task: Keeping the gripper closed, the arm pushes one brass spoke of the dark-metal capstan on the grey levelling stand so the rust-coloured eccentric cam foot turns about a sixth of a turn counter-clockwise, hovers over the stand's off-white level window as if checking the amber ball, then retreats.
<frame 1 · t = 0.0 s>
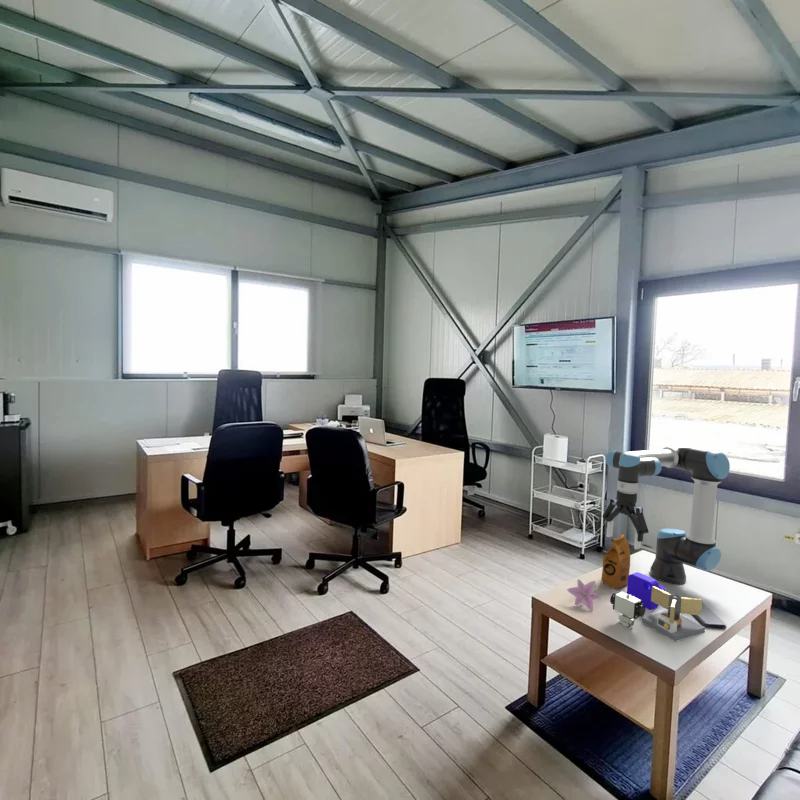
hand: (622, 542, 194), 28 cm above the table, fingers open, 13 cm apart
coffee package: (614, 583, 219), on the table
lily: (583, 605, 198), on the table
level stand: (672, 627, 183), on the table
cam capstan: (673, 622, 183), point 2 cm above the table, hinge at 0.0°
bracket: (650, 600, 205), on the table
pneumatic valve: (626, 624, 184), on the table
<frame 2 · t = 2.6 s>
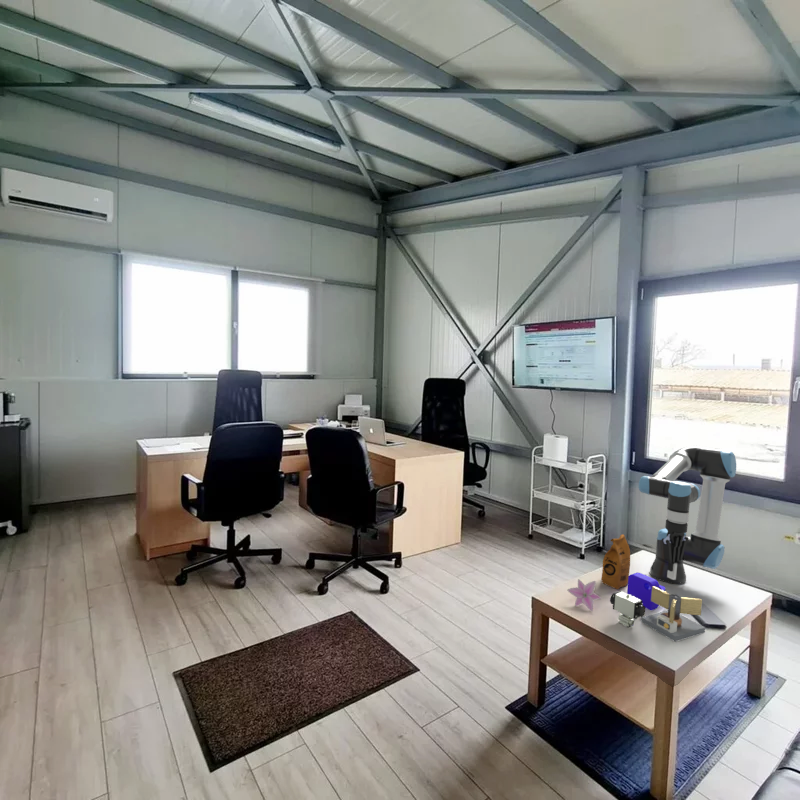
hand: (671, 578, 190), 16 cm above the table, fingers closed
nothing on the table moved.
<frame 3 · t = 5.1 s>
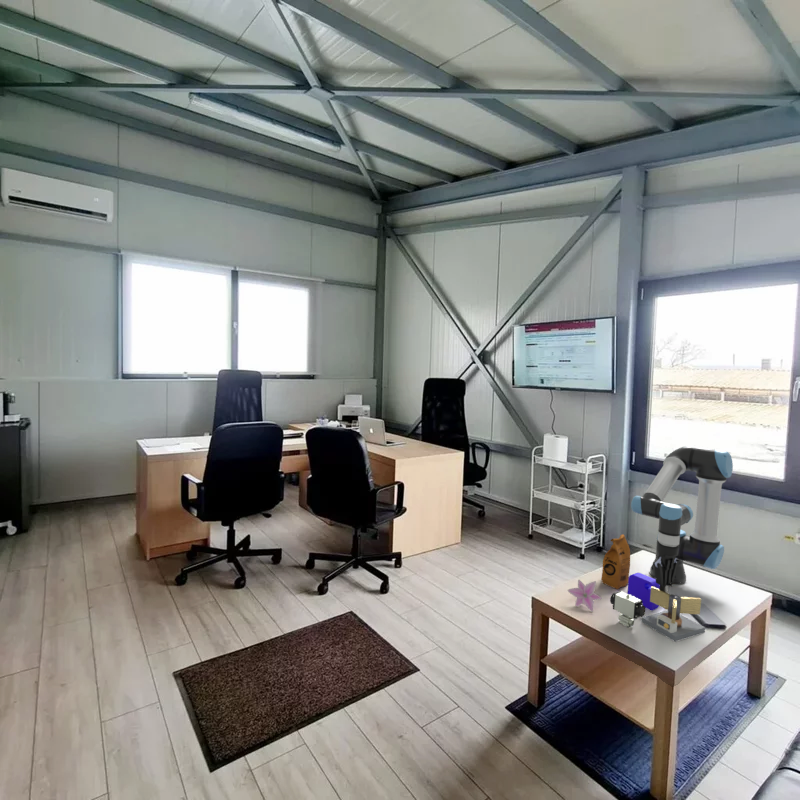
hand: (663, 600, 189), 7 cm above the table, fingers closed
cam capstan: (673, 622, 183), point 2 cm above the table, hinge at 4.1°, touching gripper
everything else where it was.
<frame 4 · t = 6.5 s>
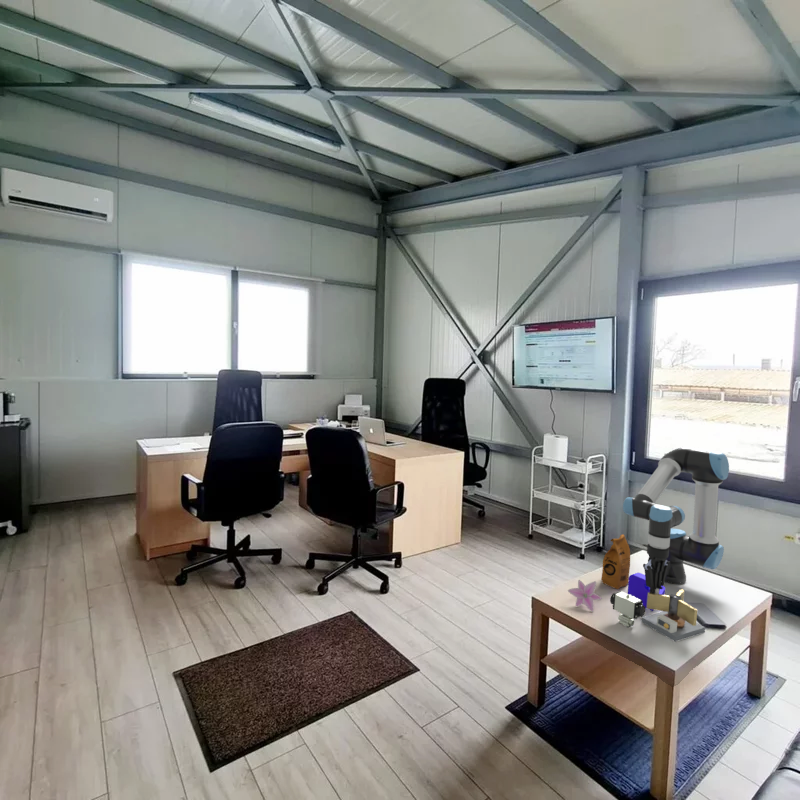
hand: (653, 603, 187), 7 cm above the table, fingers closed
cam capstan: (673, 622, 183), point 2 cm above the table, hinge at 49.4°, touching gripper
everything else where it was.
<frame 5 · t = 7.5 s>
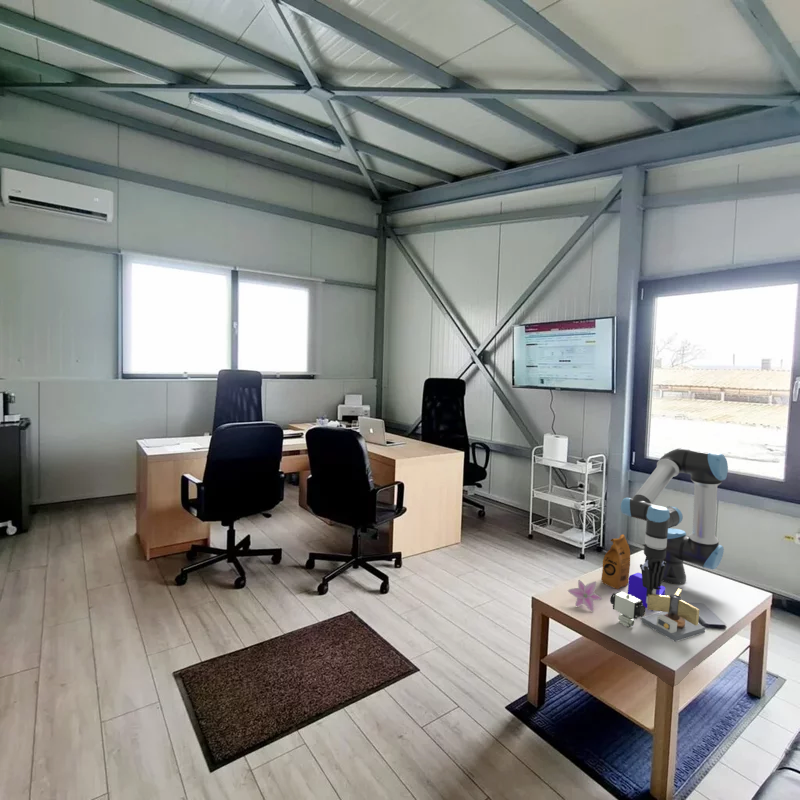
hand: (650, 604, 186), 7 cm above the table, fingers closed
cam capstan: (673, 622, 183), point 2 cm above the table, hinge at 55.6°, touching gripper
everything else where it was.
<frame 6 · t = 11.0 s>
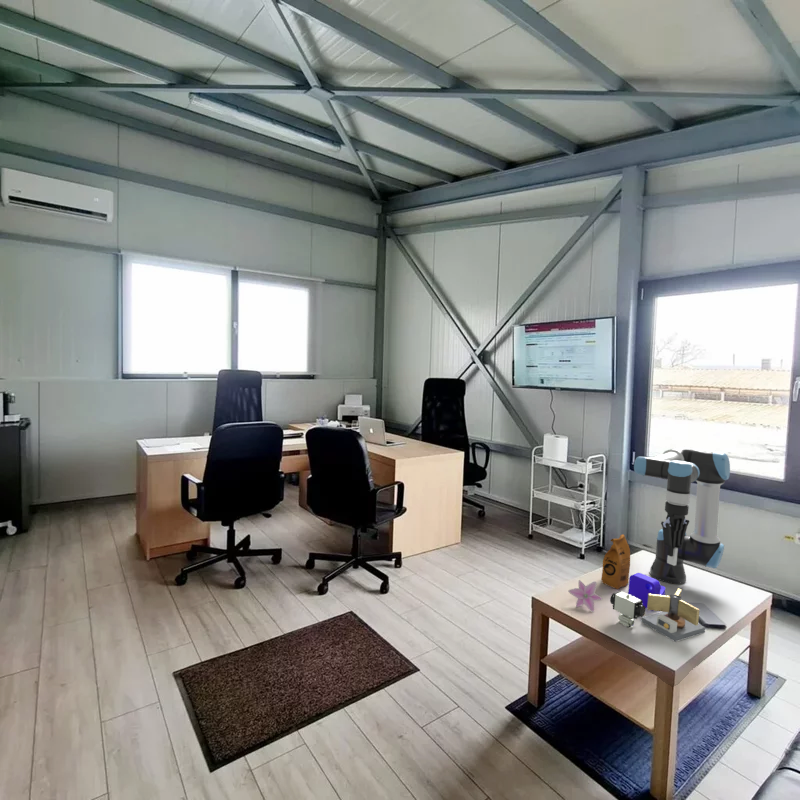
hand: (671, 563, 178), 26 cm above the table, fingers closed
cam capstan: (673, 622, 183), point 2 cm above the table, hinge at 55.8°
everything else where it was.
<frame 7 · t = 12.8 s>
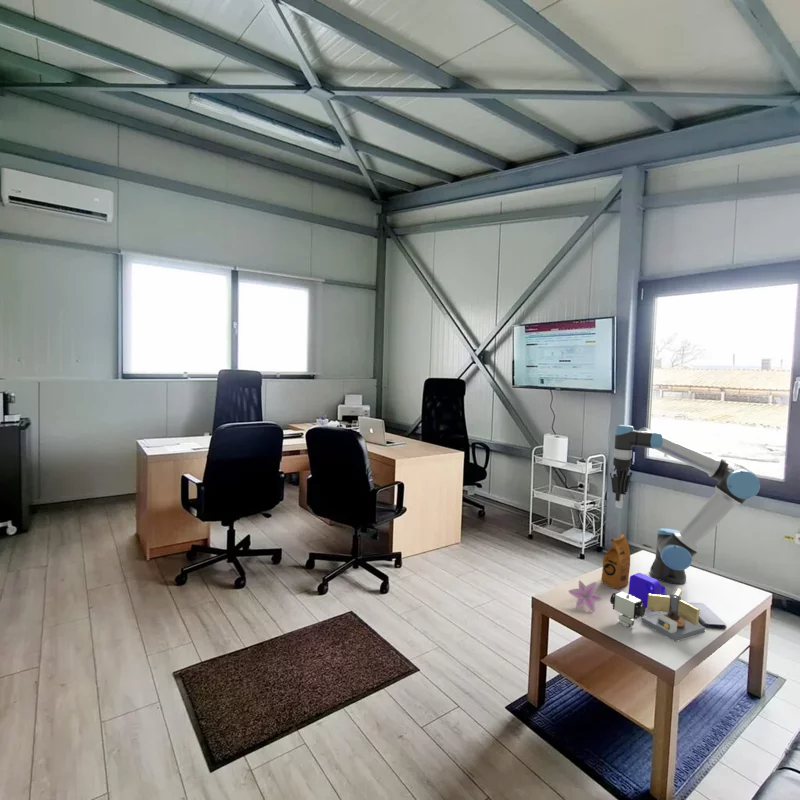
hand: (618, 507, 223), 34 cm above the table, fingers closed
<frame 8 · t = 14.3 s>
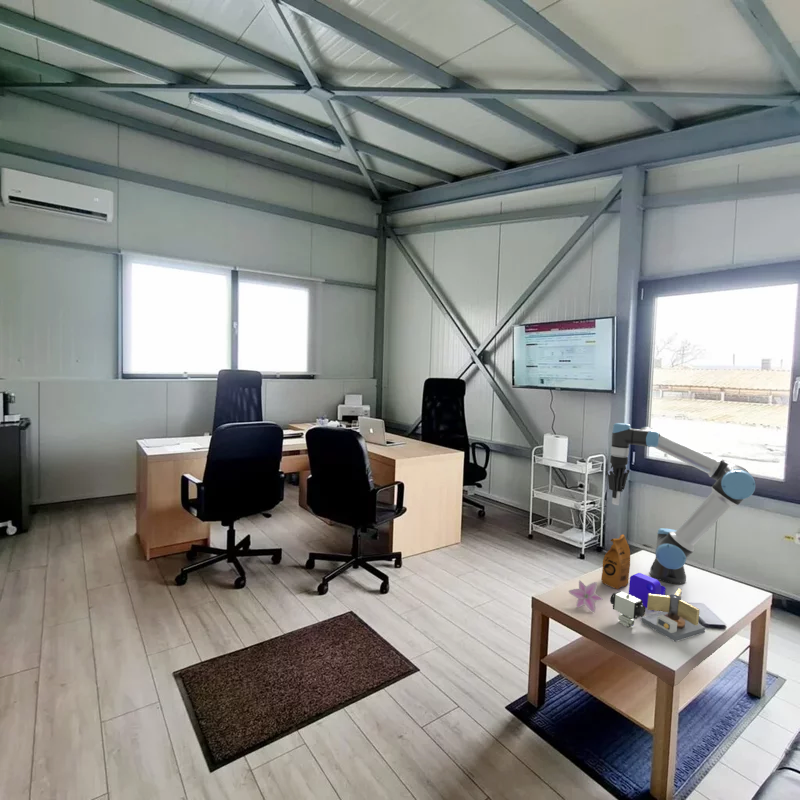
hand: (615, 504, 226), 34 cm above the table, fingers closed
at the end: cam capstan at +56° (first picture: +0°) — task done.
